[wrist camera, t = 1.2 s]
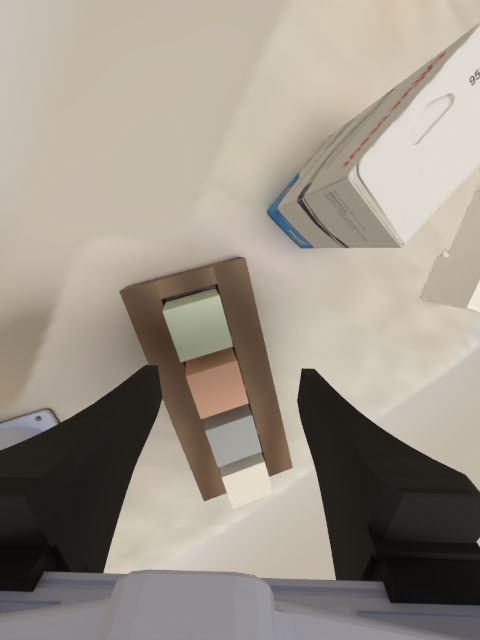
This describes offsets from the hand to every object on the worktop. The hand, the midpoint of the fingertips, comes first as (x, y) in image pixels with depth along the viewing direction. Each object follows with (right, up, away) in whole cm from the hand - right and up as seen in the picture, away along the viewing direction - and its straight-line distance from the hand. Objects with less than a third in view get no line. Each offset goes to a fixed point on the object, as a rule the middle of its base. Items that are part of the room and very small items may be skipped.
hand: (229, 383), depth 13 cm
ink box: (+7, +14, +10) cm, 19 cm away
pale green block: (-3, +3, +8) cm, 9 cm away
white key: (+1, -11, +13) cm, 17 cm away
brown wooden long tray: (-2, -3, +13) cm, 13 cm away
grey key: (-1, -6, +11) cm, 13 cm away
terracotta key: (-2, -1, +10) cm, 10 cm away
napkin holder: (+23, +11, +15) cm, 29 cm away
